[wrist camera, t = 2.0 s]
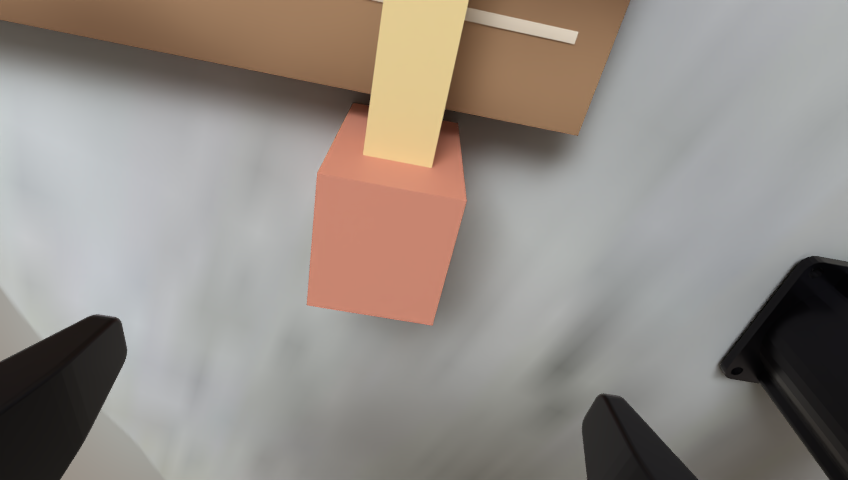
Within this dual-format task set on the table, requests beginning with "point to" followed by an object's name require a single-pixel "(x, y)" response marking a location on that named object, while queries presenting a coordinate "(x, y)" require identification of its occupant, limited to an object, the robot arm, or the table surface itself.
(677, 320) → the table surface
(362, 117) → the pink and yellow hammer
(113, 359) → the robot arm
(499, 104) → the board
